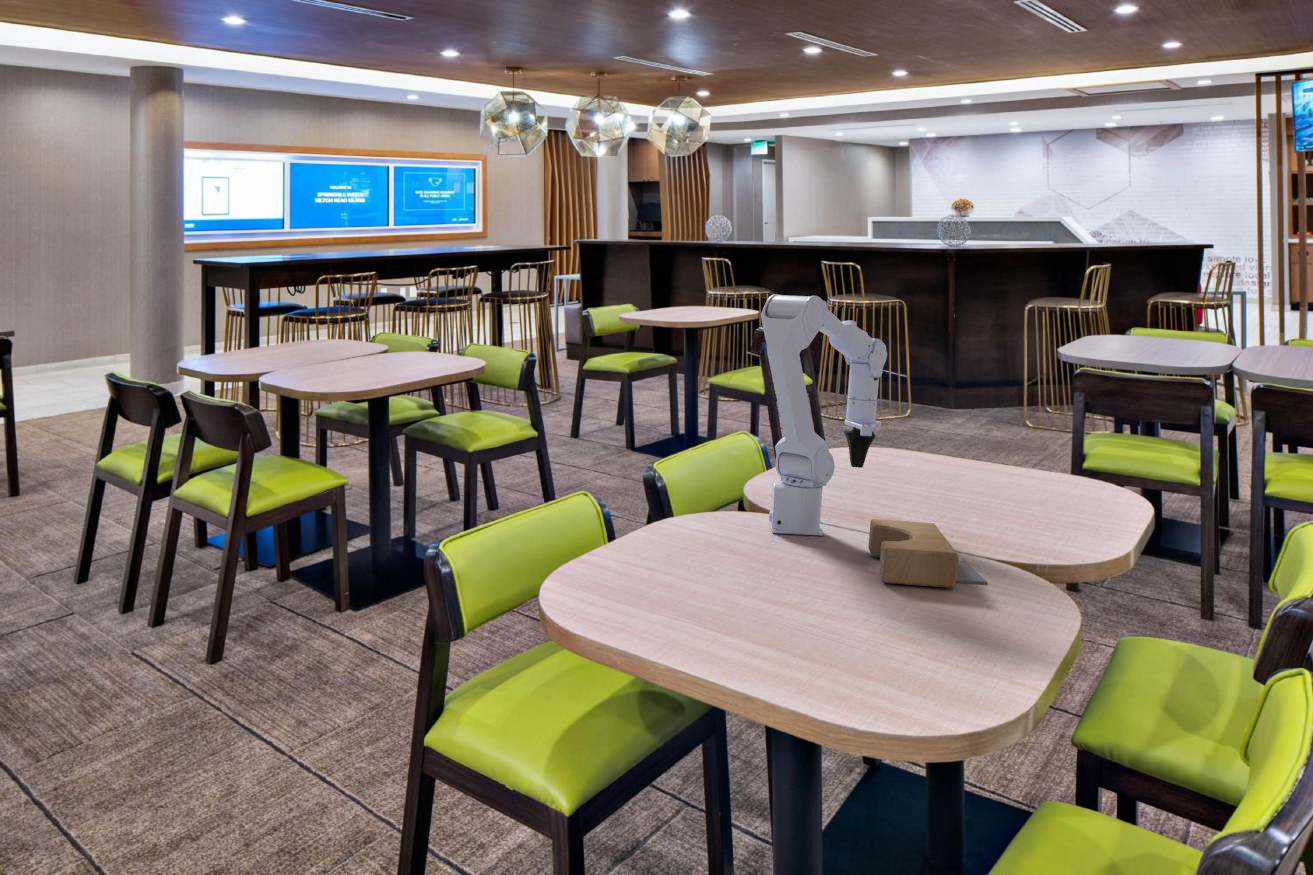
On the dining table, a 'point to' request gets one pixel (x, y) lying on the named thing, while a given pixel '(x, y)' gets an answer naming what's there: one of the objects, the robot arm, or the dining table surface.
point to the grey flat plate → (968, 574)
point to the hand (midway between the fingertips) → (856, 466)
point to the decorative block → (913, 553)
